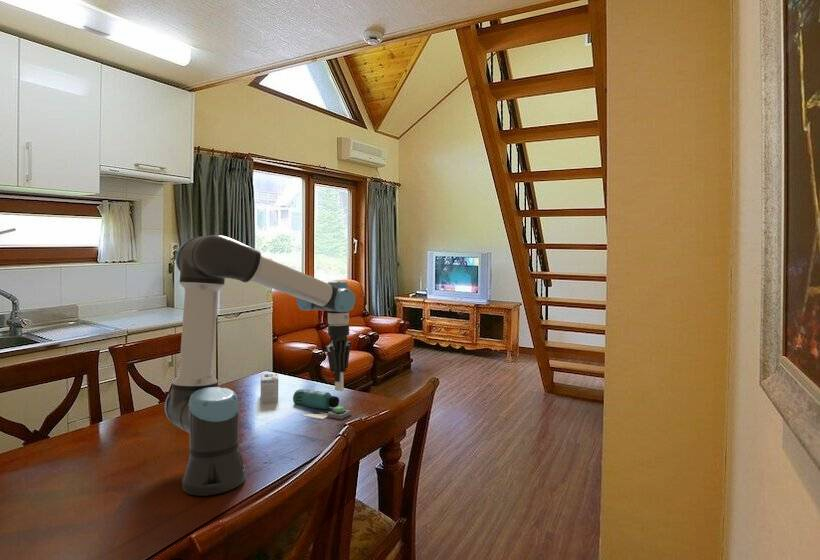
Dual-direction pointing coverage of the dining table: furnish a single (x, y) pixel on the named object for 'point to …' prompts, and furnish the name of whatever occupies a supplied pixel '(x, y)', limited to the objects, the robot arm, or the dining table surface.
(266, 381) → the light bulb box
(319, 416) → the cream rectangular board
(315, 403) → the beverage bottle
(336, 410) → the button
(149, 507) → the dining table surface
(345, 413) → the button box
